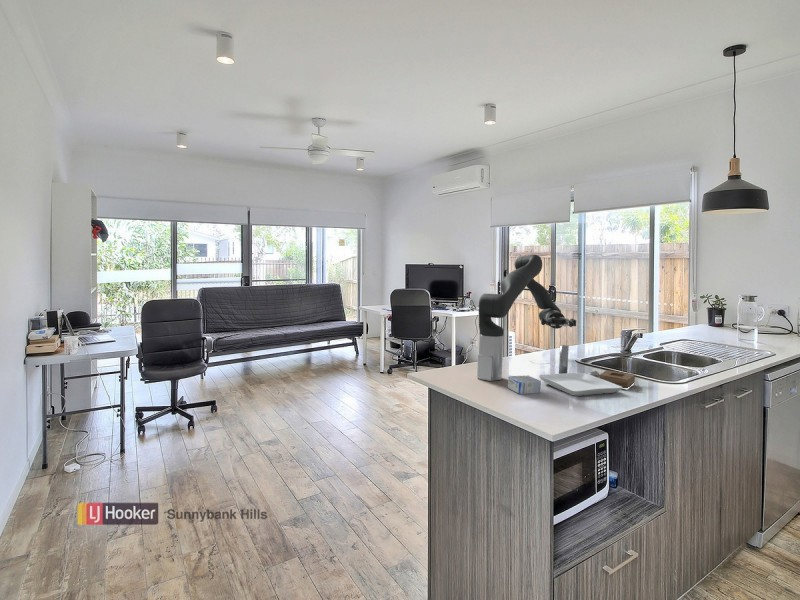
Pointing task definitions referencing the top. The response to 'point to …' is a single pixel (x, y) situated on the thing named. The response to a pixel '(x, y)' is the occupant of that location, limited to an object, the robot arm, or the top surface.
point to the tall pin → (563, 359)
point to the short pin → (594, 374)
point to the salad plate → (580, 383)
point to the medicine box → (524, 384)
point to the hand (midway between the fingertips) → (560, 324)
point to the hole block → (618, 378)
